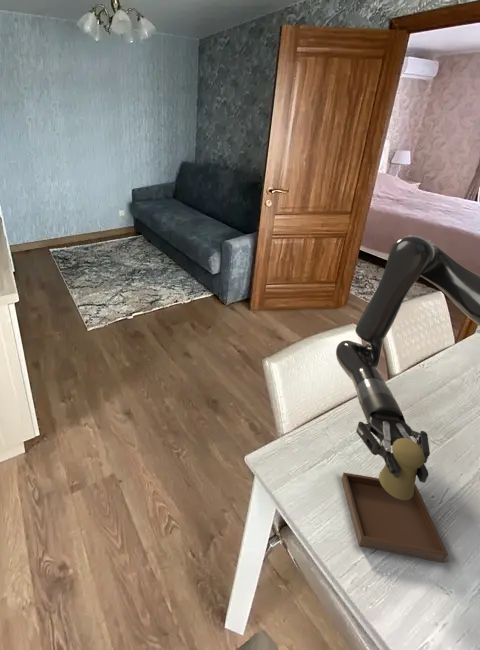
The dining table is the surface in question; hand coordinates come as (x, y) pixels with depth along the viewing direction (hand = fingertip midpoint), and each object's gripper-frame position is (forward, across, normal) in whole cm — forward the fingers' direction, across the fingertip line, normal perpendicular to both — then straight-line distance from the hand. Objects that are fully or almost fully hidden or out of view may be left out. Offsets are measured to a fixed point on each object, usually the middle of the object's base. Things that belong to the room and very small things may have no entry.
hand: (410, 476), depth 65 cm
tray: (-2, 0, +16) cm, 16 cm away
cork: (-3, 0, +7) cm, 7 cm away
